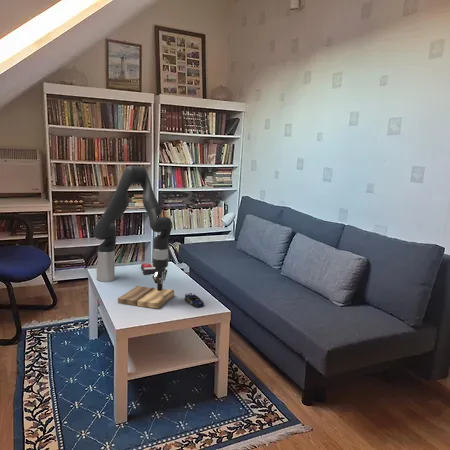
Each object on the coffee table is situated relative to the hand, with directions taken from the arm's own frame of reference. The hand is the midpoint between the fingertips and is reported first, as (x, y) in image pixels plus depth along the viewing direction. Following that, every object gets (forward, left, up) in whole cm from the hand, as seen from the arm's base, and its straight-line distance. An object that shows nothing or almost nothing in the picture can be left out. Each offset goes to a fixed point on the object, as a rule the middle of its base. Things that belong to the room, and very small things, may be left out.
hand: (159, 290), depth 200 cm
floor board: (-13, 0, -6) cm, 14 cm away
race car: (+18, +4, -6) cm, 19 cm away
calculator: (-27, +45, -6) cm, 53 cm away
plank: (-2, 0, -5) cm, 6 cm away
